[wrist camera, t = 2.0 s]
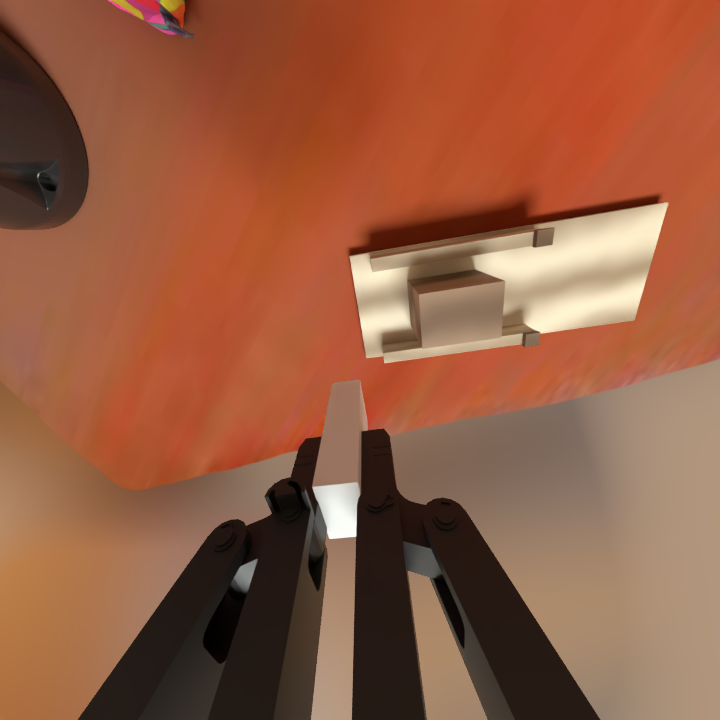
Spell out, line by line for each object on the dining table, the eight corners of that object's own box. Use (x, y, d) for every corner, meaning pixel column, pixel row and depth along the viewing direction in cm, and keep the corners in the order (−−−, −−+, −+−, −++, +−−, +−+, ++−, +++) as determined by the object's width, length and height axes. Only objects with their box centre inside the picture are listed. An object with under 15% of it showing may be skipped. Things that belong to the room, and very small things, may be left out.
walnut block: (407, 280, 29) (418, 294, 23) (475, 269, 28) (505, 280, 22) (410, 325, 31) (422, 348, 25) (474, 316, 30) (501, 337, 24)
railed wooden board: (349, 255, 29) (348, 259, 25) (657, 203, 26) (706, 199, 23) (366, 354, 33) (367, 370, 30) (626, 317, 31) (661, 329, 28)
